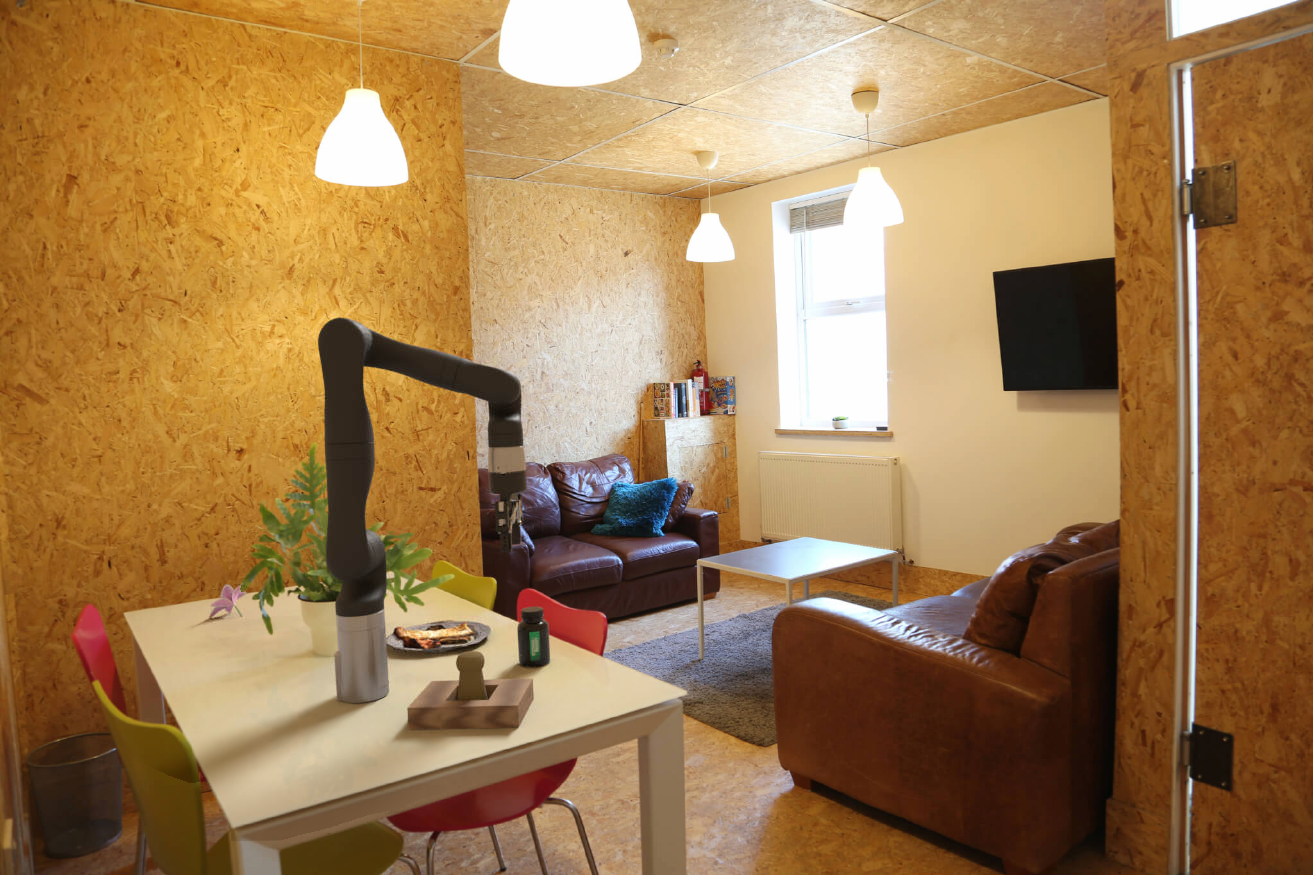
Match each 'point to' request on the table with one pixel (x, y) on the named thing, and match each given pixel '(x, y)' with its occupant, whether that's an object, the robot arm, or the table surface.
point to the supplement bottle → (533, 638)
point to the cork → (471, 676)
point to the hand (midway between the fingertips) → (511, 547)
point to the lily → (227, 600)
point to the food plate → (437, 636)
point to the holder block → (471, 706)
